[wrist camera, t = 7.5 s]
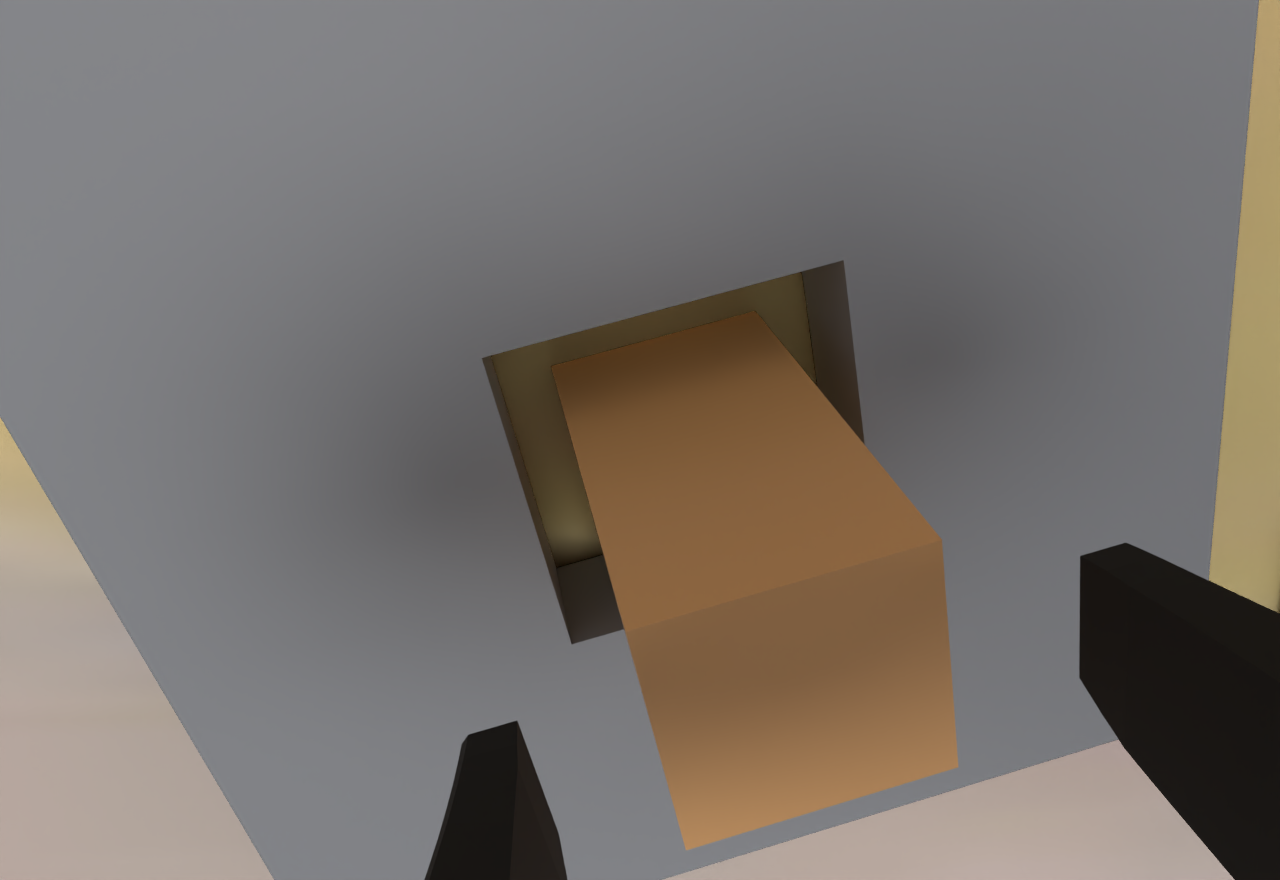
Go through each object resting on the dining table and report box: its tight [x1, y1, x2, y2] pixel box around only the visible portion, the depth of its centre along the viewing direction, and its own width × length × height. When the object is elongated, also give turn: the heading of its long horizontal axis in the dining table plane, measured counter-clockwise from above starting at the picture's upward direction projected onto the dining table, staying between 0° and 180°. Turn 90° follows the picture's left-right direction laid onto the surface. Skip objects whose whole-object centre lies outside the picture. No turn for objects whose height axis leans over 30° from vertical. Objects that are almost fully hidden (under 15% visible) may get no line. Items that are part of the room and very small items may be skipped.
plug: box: [551, 311, 958, 850], centre depth 17 cm, size 4×4×8 cm
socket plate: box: [0, 0, 1259, 880], centre depth 19 cm, size 20×20×2 cm
